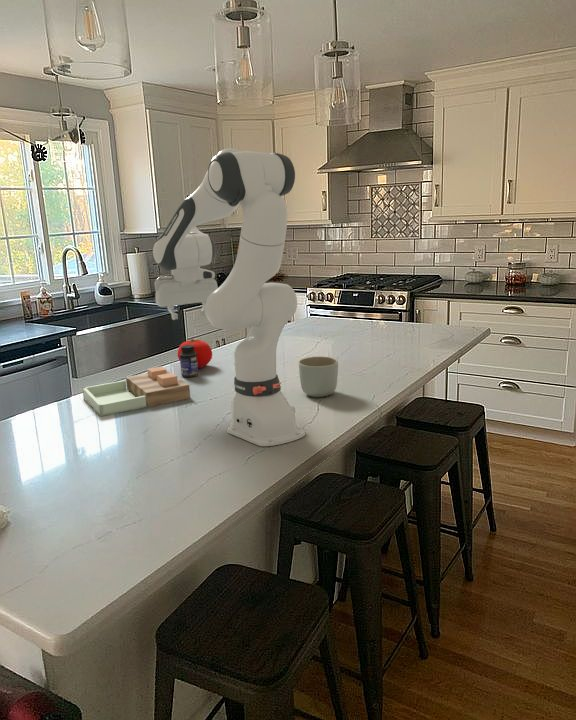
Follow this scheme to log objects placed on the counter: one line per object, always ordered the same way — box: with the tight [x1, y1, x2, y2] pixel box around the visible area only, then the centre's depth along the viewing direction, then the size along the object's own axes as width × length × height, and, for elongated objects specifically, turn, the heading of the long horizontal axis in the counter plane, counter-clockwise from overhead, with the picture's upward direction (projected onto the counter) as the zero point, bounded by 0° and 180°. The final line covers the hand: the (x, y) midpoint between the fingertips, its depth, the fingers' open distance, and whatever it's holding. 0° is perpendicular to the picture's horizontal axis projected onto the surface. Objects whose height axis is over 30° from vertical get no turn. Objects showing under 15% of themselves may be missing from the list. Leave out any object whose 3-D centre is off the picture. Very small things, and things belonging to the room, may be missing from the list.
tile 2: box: [146, 366, 168, 379], centre depth 199 cm, size 5×5×2 cm
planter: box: [298, 356, 339, 398], centre depth 187 cm, size 12×12×11 cm
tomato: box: [177, 338, 213, 369], centre depth 225 cm, size 12×13×11 cm
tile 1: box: [157, 372, 178, 386], centre depth 191 cm, size 5×5×2 cm
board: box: [125, 370, 191, 408], centre depth 195 cm, size 22×14×4 cm, turn 31°
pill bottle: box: [179, 345, 199, 378], centre depth 214 cm, size 6×6×11 cm
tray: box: [81, 379, 147, 417], centre depth 188 cm, size 22×14×4 cm, turn 31°
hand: (188, 317), depth 189 cm, fingers open, 8 cm apart
